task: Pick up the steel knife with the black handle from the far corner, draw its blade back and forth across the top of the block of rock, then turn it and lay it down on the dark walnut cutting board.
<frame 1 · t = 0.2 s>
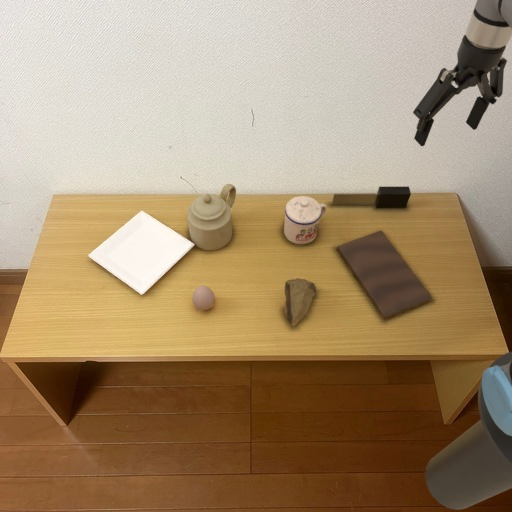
hand: (445, 133, 102), 30 cm above the table, tool pointing down, fingers open, 13 cm apart
egg: (204, 305, 112), on the table
plate: (143, 254, 120), on the table
cutting board: (381, 274, 117), on the table
rock: (302, 305, 112), on the table
knife: (373, 204, 131), on the table
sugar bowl: (212, 228, 125), on the table
teacup with lid: (304, 230, 125), on the table
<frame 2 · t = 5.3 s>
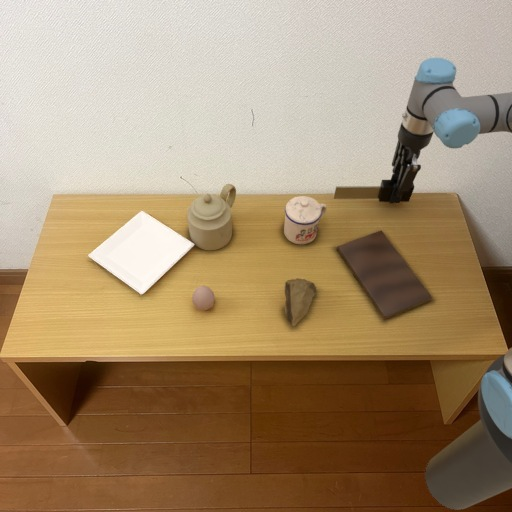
hand: (393, 197, 128), 3 cm above the table, tool pointing down, fingers closed on knife, 3 cm apart
knife: (376, 198, 128), point 3 cm above the table, touching gripper
everything else where it was.
when the fingers open (2 cm above the table, at t = 20.0 s): knife stays where it is, resting on cutting board.
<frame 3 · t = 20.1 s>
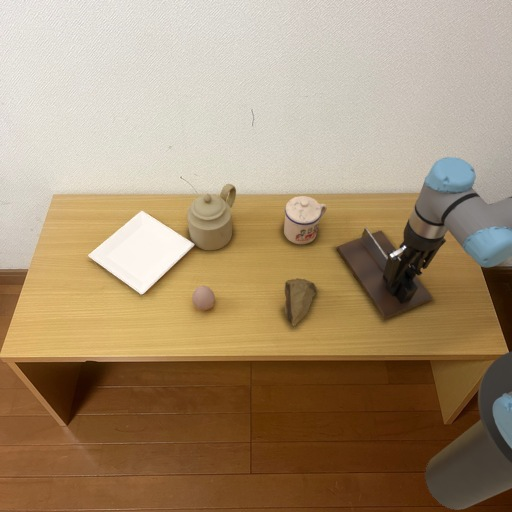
hand: (396, 288, 113), 2 cm above the table, tool pointing down, fingers open, 3 cm apart
knife: (386, 273, 115), point 2 cm above the table, touching cutting board
everything else where it was.
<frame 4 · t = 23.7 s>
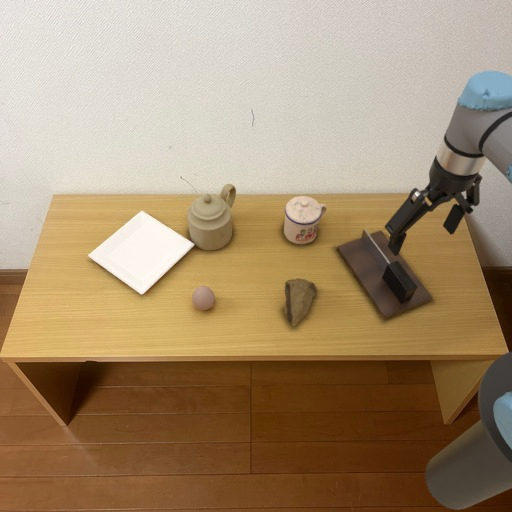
hand: (420, 240, 97), 21 cm above the table, tool pointing down, fingers open, 13 cm apart
nothing on the table moved.
at the end: knife inside the target area on the cutting board (1.1 cm from its centre), point 1.5 cm above the cutting board's base; rock moved 0.2 cm from its start; rock tilted 0° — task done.
